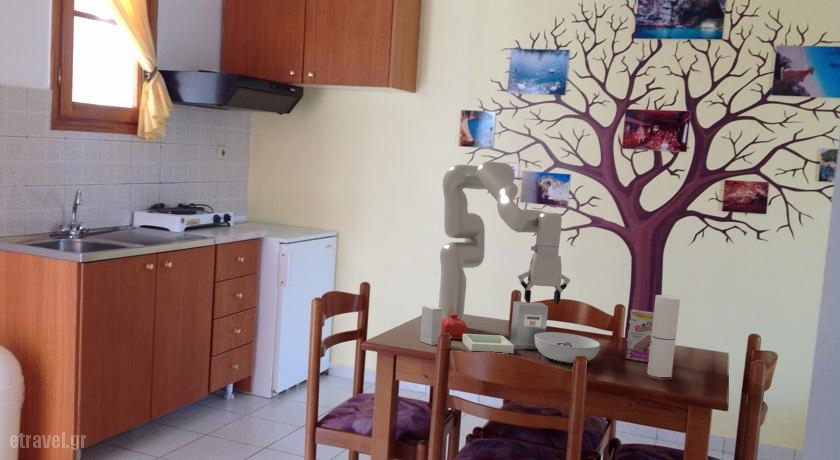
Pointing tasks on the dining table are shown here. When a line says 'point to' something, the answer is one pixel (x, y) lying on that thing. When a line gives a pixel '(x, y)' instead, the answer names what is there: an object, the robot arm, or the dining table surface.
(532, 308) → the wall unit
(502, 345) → the tray
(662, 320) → the cylindrical container
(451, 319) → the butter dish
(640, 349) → the candy bar box
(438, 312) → the skincare box
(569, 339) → the serving bowl
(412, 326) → the dining table surface
